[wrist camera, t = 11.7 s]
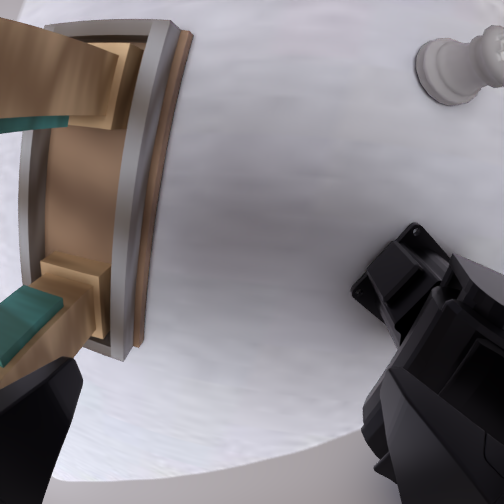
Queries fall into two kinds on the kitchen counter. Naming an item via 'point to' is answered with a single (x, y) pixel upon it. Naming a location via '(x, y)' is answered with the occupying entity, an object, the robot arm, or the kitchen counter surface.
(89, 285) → the oak finger
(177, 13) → the kitchen counter surface
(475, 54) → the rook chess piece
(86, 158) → the weathered wooden tray
